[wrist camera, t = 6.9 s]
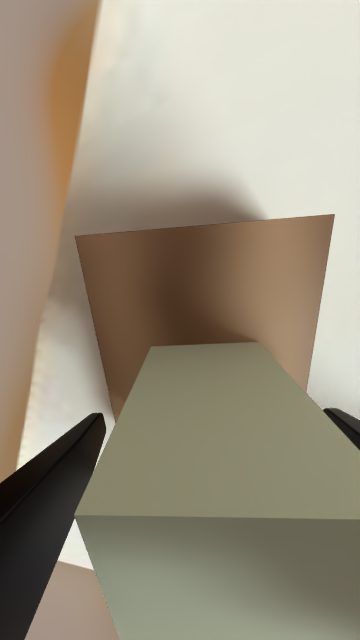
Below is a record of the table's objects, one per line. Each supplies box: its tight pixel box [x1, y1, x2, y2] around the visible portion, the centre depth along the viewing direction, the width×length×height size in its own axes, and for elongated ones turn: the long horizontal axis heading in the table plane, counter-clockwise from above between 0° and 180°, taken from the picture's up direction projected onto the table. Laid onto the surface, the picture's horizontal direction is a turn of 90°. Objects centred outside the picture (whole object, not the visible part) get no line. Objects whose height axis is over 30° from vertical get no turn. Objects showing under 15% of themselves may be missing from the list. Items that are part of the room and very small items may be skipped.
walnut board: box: [75, 214, 335, 423], centre depth 11 cm, size 10×15×4 cm, turn 4°
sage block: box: [74, 342, 360, 640], centre depth 6 cm, size 5×5×6 cm
